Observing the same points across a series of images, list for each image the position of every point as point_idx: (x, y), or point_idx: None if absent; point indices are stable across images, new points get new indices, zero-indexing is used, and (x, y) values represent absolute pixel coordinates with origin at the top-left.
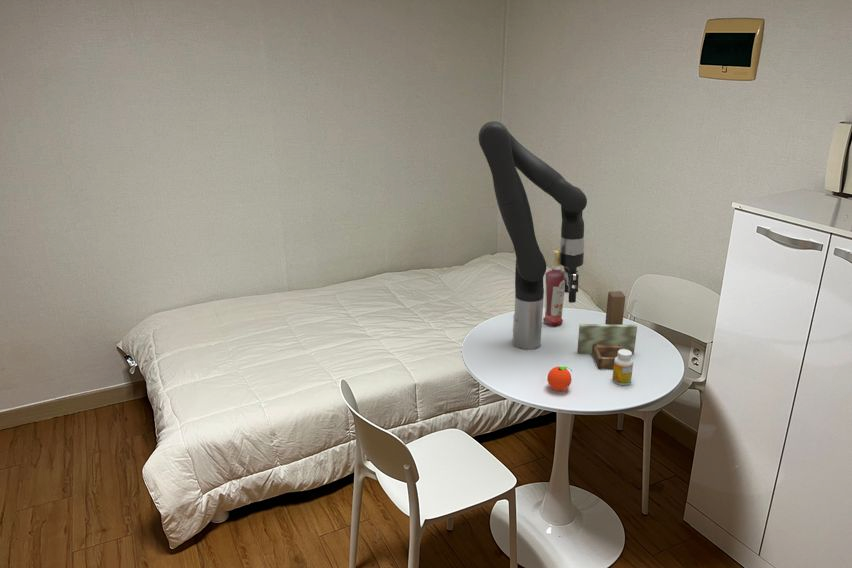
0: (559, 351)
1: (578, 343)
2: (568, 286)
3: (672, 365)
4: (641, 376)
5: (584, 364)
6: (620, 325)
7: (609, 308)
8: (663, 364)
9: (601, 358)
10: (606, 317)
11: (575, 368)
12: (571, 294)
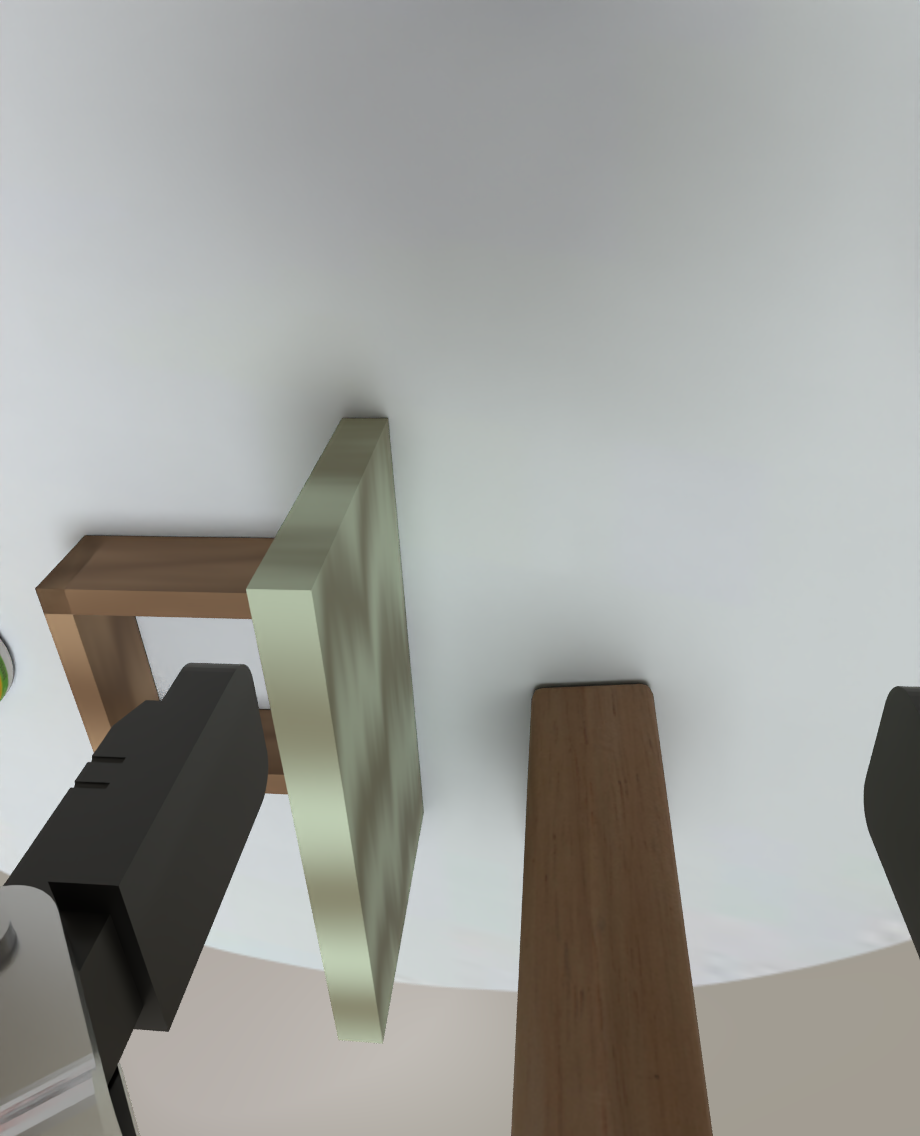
0: (371, 226)
1: (335, 464)
2: (79, 1042)
3: (272, 945)
4: (69, 773)
5: (135, 440)
6: (344, 947)
7: (575, 1016)
8: (274, 913)
9: (50, 609)
10: (642, 878)
11: (29, 345)
12: (27, 875)
